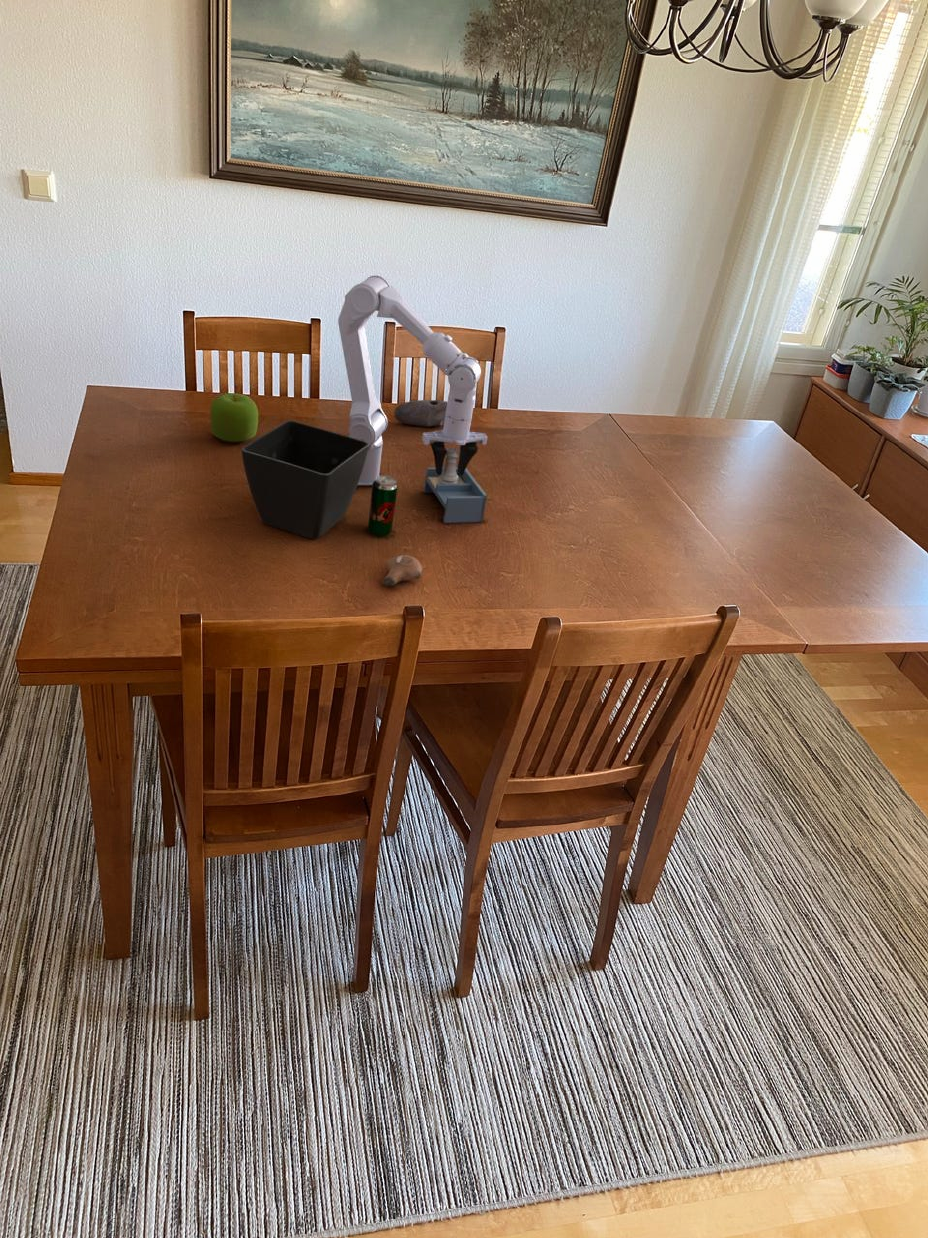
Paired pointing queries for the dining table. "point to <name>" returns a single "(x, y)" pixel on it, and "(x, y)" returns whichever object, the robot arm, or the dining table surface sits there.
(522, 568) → the dining table surface
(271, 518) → the flower pot
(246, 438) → the apple
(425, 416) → the perforated stone tool
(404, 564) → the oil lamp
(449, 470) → the rook chess piece
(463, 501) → the blue open tray
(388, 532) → the soda can
